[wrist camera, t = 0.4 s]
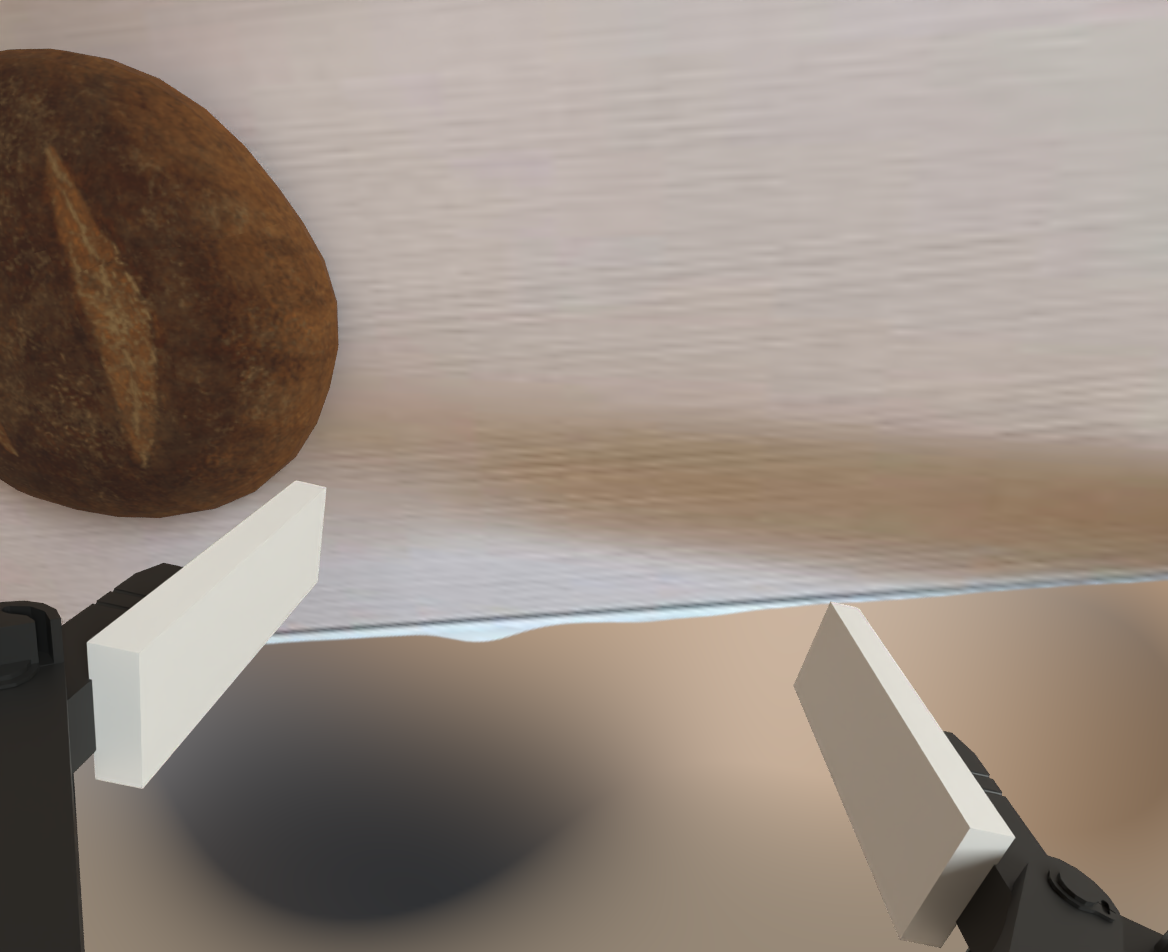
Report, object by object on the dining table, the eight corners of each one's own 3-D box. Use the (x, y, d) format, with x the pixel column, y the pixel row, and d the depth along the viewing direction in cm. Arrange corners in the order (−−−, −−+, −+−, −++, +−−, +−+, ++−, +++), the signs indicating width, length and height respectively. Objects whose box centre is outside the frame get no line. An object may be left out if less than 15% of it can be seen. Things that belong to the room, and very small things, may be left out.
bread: (306, 53, 36) (218, -2, 28) (379, 491, 46) (329, 546, 37) (-161, 80, 37) (-376, 35, 29) (6, 500, 47) (-121, 555, 39)
